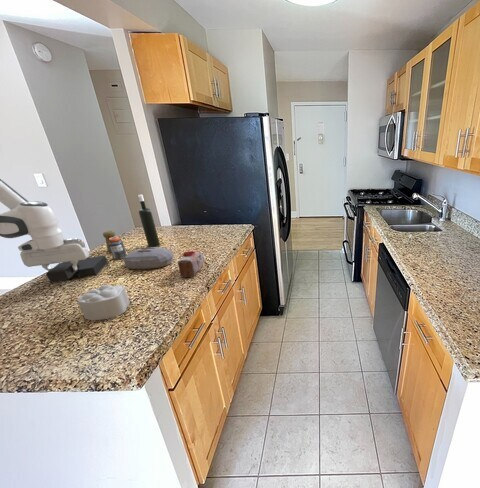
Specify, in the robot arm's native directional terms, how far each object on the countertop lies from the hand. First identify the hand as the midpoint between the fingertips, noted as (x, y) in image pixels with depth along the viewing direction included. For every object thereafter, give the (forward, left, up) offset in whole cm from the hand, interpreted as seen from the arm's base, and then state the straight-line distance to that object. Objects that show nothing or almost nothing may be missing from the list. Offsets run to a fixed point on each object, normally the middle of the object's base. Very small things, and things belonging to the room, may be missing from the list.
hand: (63, 271), depth 110 cm
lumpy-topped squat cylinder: (+23, -29, -6) cm, 37 cm away
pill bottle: (+12, +24, -6) cm, 28 cm away
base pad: (0, +12, -6) cm, 14 cm away
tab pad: (0, +1, -2) cm, 2 cm away
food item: (+49, -6, -6) cm, 50 cm away
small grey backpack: (+30, +9, -6) cm, 32 cm away
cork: (+5, +38, -6) cm, 39 cm away
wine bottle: (+25, +37, -6) cm, 45 cm away
